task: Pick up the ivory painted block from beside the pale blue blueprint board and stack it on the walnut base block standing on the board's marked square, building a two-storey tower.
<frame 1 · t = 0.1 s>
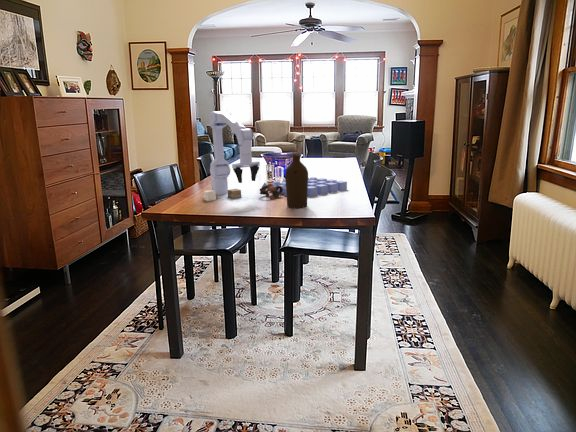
hand: (246, 181, 220), 10 cm above the table, tool pointing down, fingers open, 7 cm apart
blueprint board: (234, 198, 231), on the table
ivory block: (210, 200, 228), on the table
dark brown figurine: (271, 198, 230), on the table
walnut base block: (234, 197, 231), resting on blueprint board
olive oil: (297, 206, 211), on the table
blocks: (302, 191, 250), on the table
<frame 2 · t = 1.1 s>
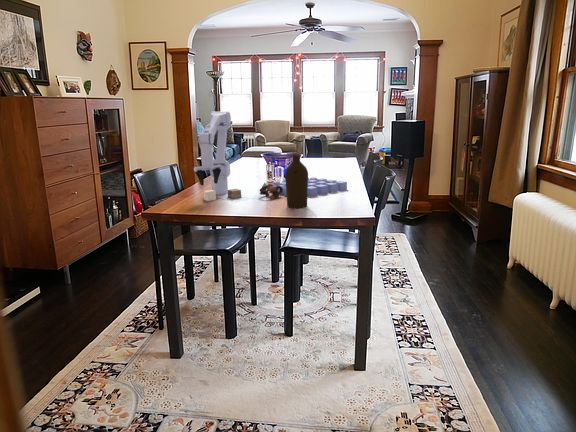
hand: (209, 184, 225), 8 cm above the table, tool pointing down, fingers open, 7 cm apart
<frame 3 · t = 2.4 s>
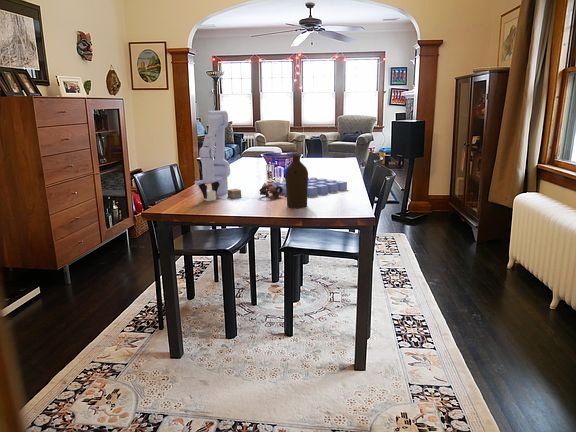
hand: (209, 197, 227), 1 cm above the table, tool pointing down, fingers closed on ivory block, 4 cm apart
ivory block: (210, 200, 227), on the table, touching gripper
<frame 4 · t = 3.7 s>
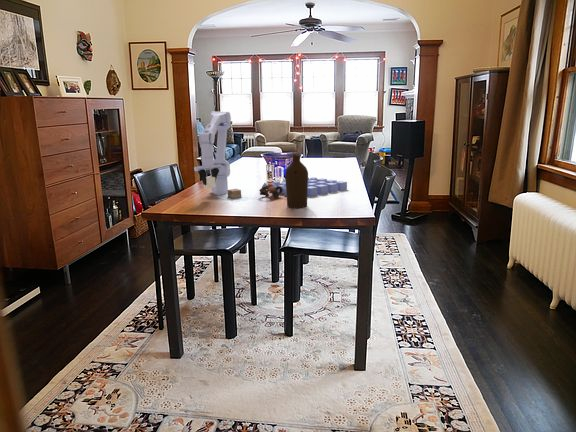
hand: (209, 184, 226), 8 cm above the table, tool pointing down, fingers closed on ivory block, 4 cm apart
ivory block: (209, 186, 226), point 7 cm above the table, touching gripper
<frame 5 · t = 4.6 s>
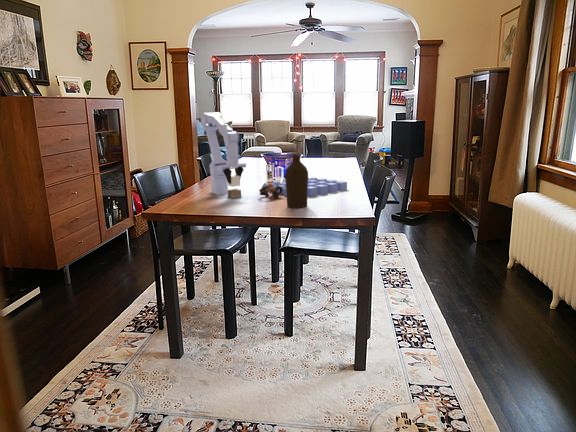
hand: (233, 182, 229), 8 cm above the table, tool pointing down, fingers closed on ivory block, 4 cm apart
ivory block: (234, 185, 230), point 7 cm above the table, touching gripper
when the fingers open (7 cm above the table, at t = 5.3 s): ivory block drops 2 cm, resting on walnut base block.
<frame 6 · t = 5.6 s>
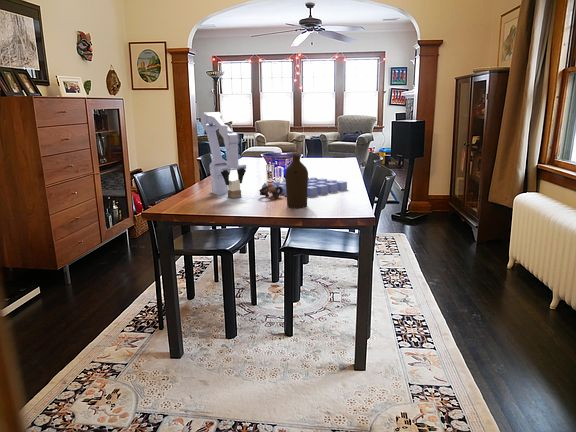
hand: (233, 184, 229), 7 cm above the table, tool pointing down, fingers open, 7 cm apart
ivory block: (234, 189, 230), point 4 cm above the table, touching walnut base block
walnut base block: (234, 197, 231), resting on blueprint board, touching ivory block
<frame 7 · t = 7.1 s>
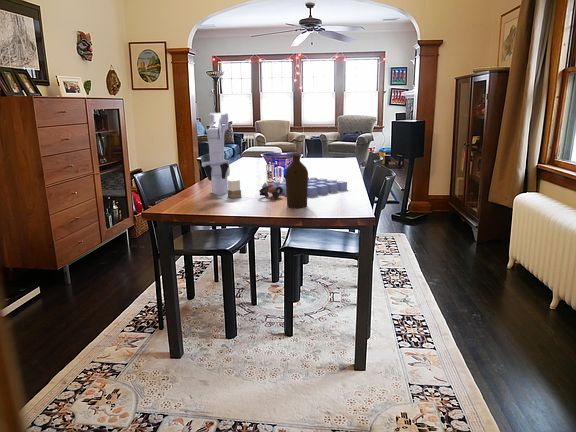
hand: (216, 179, 226), 10 cm above the table, tool pointing down, fingers open, 7 cm apart
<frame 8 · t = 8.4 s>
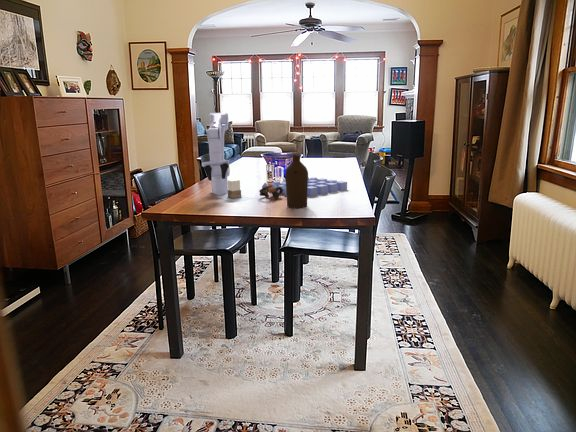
hand: (216, 179, 226), 10 cm above the table, tool pointing down, fingers open, 7 cm apart
at the end: ivory block 0.1 cm from the walnut base block (horizontally); ivory block point 4.4 cm above the table; ivory block tilted 0° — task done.
